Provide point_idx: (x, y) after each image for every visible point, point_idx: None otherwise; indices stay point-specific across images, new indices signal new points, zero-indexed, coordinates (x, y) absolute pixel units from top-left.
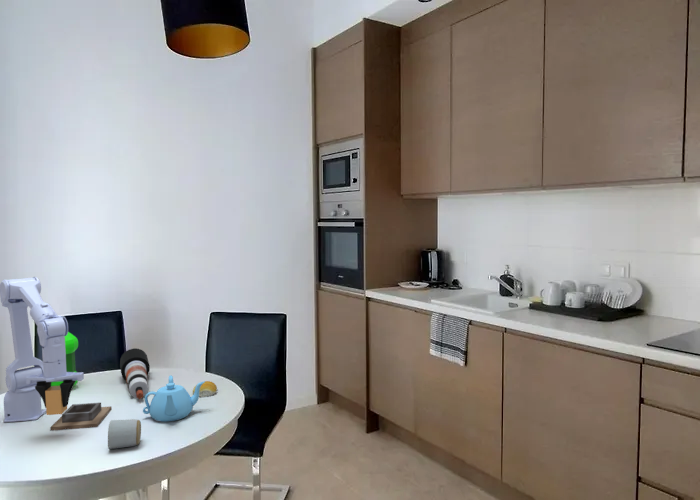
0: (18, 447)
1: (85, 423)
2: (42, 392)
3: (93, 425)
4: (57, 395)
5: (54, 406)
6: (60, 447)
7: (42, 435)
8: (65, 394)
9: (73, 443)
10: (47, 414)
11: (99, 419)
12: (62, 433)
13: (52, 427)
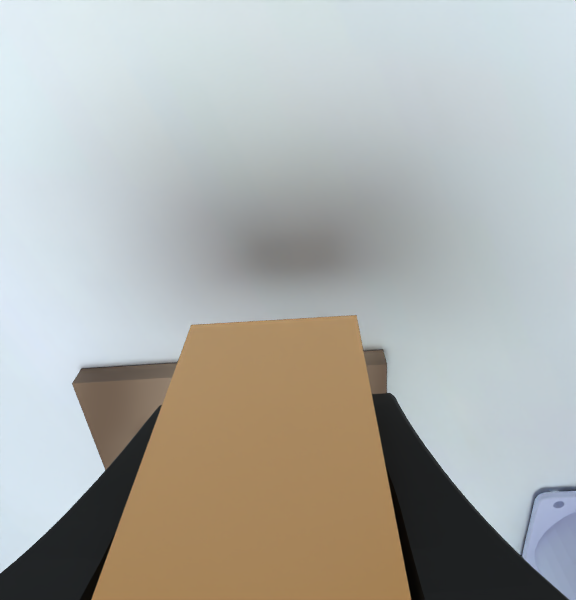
0: (514, 72)
1: (159, 393)
2: (471, 592)
3: (102, 375)
4: (178, 521)
5: (256, 380)
6: (137, 26)
7: (405, 280)
8: (50, 541)
9: (73, 102)
10: (346, 319)
11: (101, 439)
12: (272, 296)
13: (371, 363)
